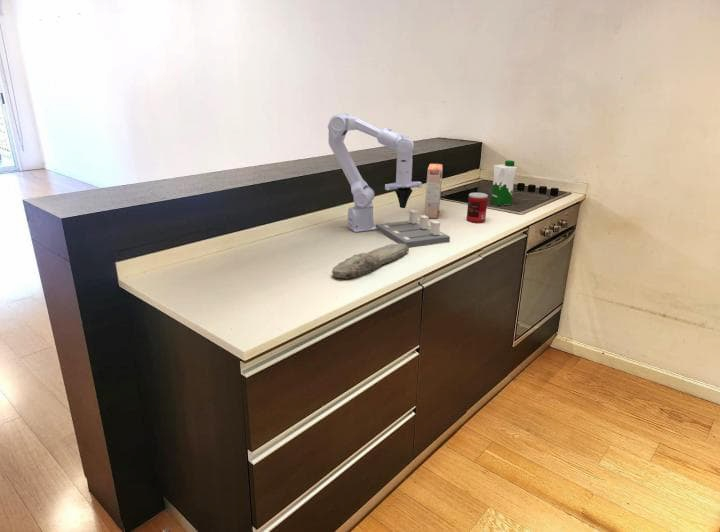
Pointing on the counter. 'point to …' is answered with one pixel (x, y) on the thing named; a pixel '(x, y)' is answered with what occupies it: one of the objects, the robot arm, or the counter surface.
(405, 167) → the robot arm
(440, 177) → the cracker box
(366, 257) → the elongated rock
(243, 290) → the counter surface
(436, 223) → the block
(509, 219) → the counter surface
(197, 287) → the counter surface
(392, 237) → the breaker panel
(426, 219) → the block
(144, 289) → the counter surface
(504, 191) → the milk carton
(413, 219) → the block
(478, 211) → the canned food
